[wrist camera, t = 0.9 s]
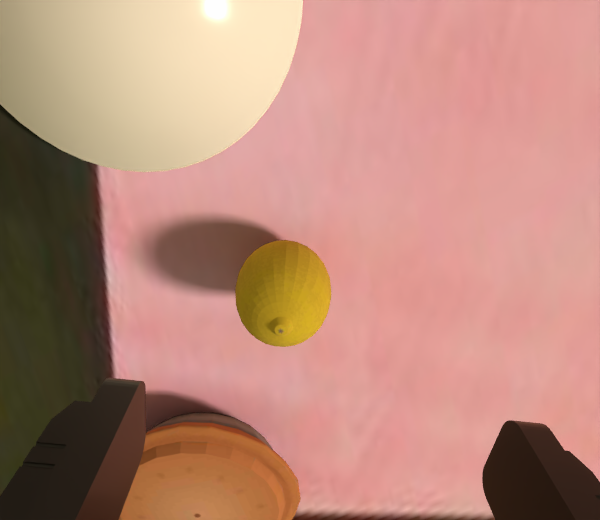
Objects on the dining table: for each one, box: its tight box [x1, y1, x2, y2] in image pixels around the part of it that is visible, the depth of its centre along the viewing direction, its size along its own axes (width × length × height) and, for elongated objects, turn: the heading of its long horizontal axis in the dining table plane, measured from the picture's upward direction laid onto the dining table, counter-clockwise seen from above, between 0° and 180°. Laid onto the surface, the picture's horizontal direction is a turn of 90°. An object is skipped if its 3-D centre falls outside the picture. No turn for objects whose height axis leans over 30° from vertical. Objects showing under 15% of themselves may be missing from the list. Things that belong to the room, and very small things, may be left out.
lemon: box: [235, 240, 331, 347], centre depth 26 cm, size 6×6×8 cm
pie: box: [119, 413, 300, 520], centre depth 36 cm, size 16×16×5 cm
